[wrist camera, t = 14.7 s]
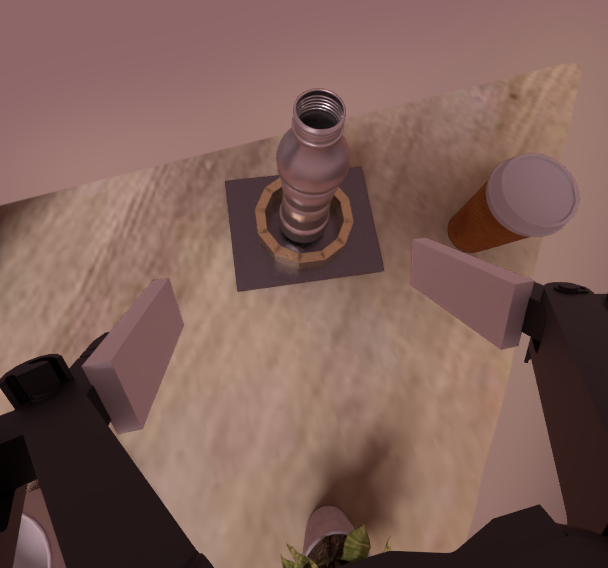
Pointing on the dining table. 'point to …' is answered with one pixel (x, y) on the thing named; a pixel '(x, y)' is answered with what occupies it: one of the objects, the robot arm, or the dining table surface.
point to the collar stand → (293, 255)
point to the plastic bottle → (312, 164)
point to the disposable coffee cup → (516, 204)
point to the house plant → (331, 541)
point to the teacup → (37, 536)
